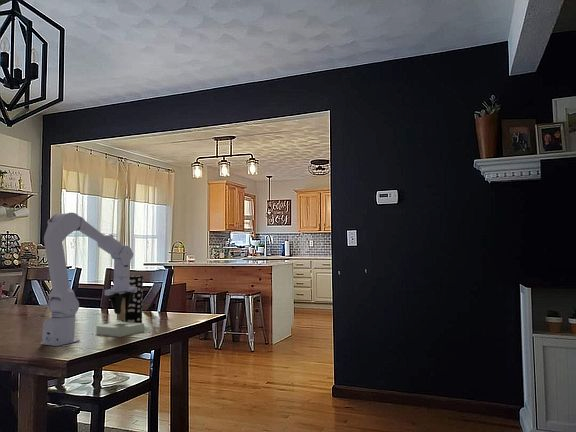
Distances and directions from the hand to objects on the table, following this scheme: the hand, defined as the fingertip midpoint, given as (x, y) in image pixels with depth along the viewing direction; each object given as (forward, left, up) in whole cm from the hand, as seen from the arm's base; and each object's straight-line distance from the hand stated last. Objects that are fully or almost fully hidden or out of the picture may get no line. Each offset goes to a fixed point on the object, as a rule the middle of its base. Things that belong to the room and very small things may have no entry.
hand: (120, 313), depth 176 cm
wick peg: (0, 0, -2) cm, 2 cm away
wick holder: (0, 0, -7) cm, 7 cm away
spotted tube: (+18, +12, -8) cm, 23 cm away
